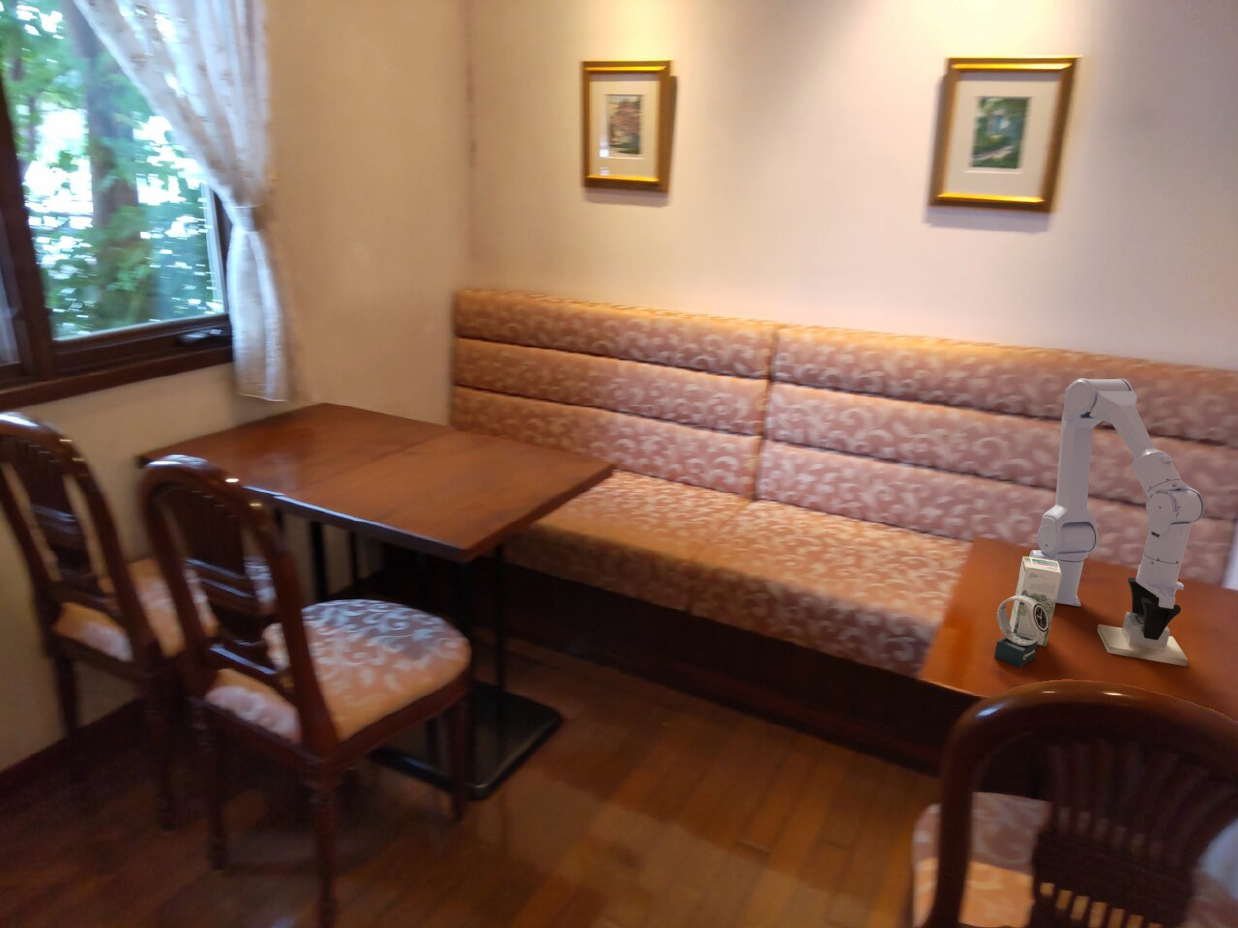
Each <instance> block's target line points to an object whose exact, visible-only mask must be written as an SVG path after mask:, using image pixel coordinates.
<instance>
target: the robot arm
mask: <svg viewBox="0 0 1238 928" xmlns="http://www.w3.org/2000/svg"><path fill="white" fill-rule="evenodd" d="M1063 402H1064V403H1063V404H1064V405H1063V412H1062V415H1061V425H1060V434H1059V435H1060V437H1059V439H1060V440H1059V450H1058V463H1057V464H1058V466H1057V478H1056V490H1055V491H1056V492H1055V493H1056V494H1055V505H1054V506H1052V507H1051V508H1050V509H1049V510H1047V511H1046V512H1045V513H1043V514H1042V516H1041V523H1040V526H1039V527H1038V530H1037V534H1036V540H1037V544H1038V547H1039V550H1037V549H1036V550H1035V549H1033V550H1031V551H1030V553H1029V556H1028V557H1033V558H1040V559H1046V560H1053V561H1057V562H1058V564H1059V567H1060V571H1061V573H1062V576H1061V581H1060V585H1059V590H1058V594H1057V599H1056V603H1055V604H1062V605H1069V606H1074V607H1081V606H1082V603H1081V601H1080V599H1079V597H1078V595H1077V594H1078V588H1079V584H1080V580H1081V575H1082V572H1083V571H1082V570H1083V567H1084V563H1085V562H1084V561H1085V559H1086V558H1087V559H1088V558H1089V554H1090V553H1091V552H1094V551H1095V550H1096V548H1097V547H1098V544H1099V541H1100V540H1099V532H1098V529H1097V517H1096V515H1094V514H1093V512H1091V511H1090V510H1089V509H1088V508H1087V507H1088V497H1089V486H1090V485H1089V484H1090V472H1091V470H1090V469H1091V459H1092V458H1091V457H1092V447H1093V446H1092V445H1093V433H1094V432H1093V431H1094V428H1095V427H1096V426H1097V425H1098V424H1099V423H1101V422H1103V421H1105V422H1107V423H1111V424H1112V426H1113V428H1114V429H1115V430H1116V432H1117V433H1118V435H1119V437H1120V438H1121V439H1122V441H1123V442H1124V444H1125V446H1126V447H1127V448H1128V450H1129V451H1130V453H1131V454H1132V456H1133V457H1134V458H1133V461H1132V463H1131V469H1132V470H1133V472H1134V474H1135V476H1136V478H1137V480H1138V481H1139V483H1140V486H1141V487H1142V488H1143V490H1144V493H1145V494H1146V496H1147V497H1148V500H1146V503H1145V509H1146V515H1147V517H1148V521H1147V525H1146V526H1147V528H1148V533H1147V538H1146V541H1145V545H1144V548H1143V549H1144V550H1143V552H1142V557H1141V562H1140V564H1139V565H1138V569H1137V574H1136V576H1135V577H1128V578H1127V581H1128V584H1129V587H1130V593H1131V612H1132V613H1138V614H1144V627H1143V634H1144V638H1147V639H1153V640H1158V639H1159V638H1160V636H1161V635H1162V633H1163V631H1164V629H1165V628H1166V627H1168V625H1169V624H1170V622H1171V621H1173V619H1174V618H1175V617H1176V616H1178V615H1179V614H1180V613H1181V612H1182V608H1181V606H1180V605H1179V604H1175V603H1176V596H1175V595H1176V592H1177V591H1178V590H1179V591H1180V590H1181V591H1182V590H1184V587H1185V585H1184V584H1183V583H1182V582H1180V581H1178V579H1179V576H1180V572H1181V567H1182V563H1183V560H1184V557H1185V553H1186V548H1187V545H1188V541H1189V536H1190V533H1191V529H1192V524H1193V523H1196V522H1198V521H1199V520H1201V519H1202V517H1203V515H1204V513H1205V501H1204V499H1203V497H1202V494H1201V493H1200V491H1198V490H1196V489H1194V488H1192V487H1190V486H1189V485H1188V483H1185V482H1184V481H1183V479H1182V477H1181V476H1180V474H1179V472H1178V471H1177V469H1176V467H1175V465H1174V463H1173V459H1172V457H1171V455H1169V454H1168V453H1167V452H1165V451H1162V450H1160V449H1157V448H1156V447H1155V445H1154V443H1153V441H1152V439H1151V436H1150V435H1149V433H1148V431H1147V429H1146V428H1147V427H1146V425H1145V424H1144V422H1143V419H1142V418H1141V415H1140V414H1139V411H1138V409H1137V407H1136V405H1137V402H1138V395H1137V393H1136V392H1135V391H1134V389H1133V386H1132V384H1131V383H1130V382H1129V381H1128V380H1127V379H1125V378H1114V379H1113V378H1111V379H1107V378H1106V379H1105V378H1104V379H1103V378H1102V379H1100V378H1099V379H1098V378H1096V379H1095V378H1094V379H1091V378H1090V379H1088V378H1078V379H1076V380H1074V381H1073V382H1072V383H1071V384H1070V385H1068V386H1067V387H1066V388H1065V390H1064V400H1063Z"/></svg>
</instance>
